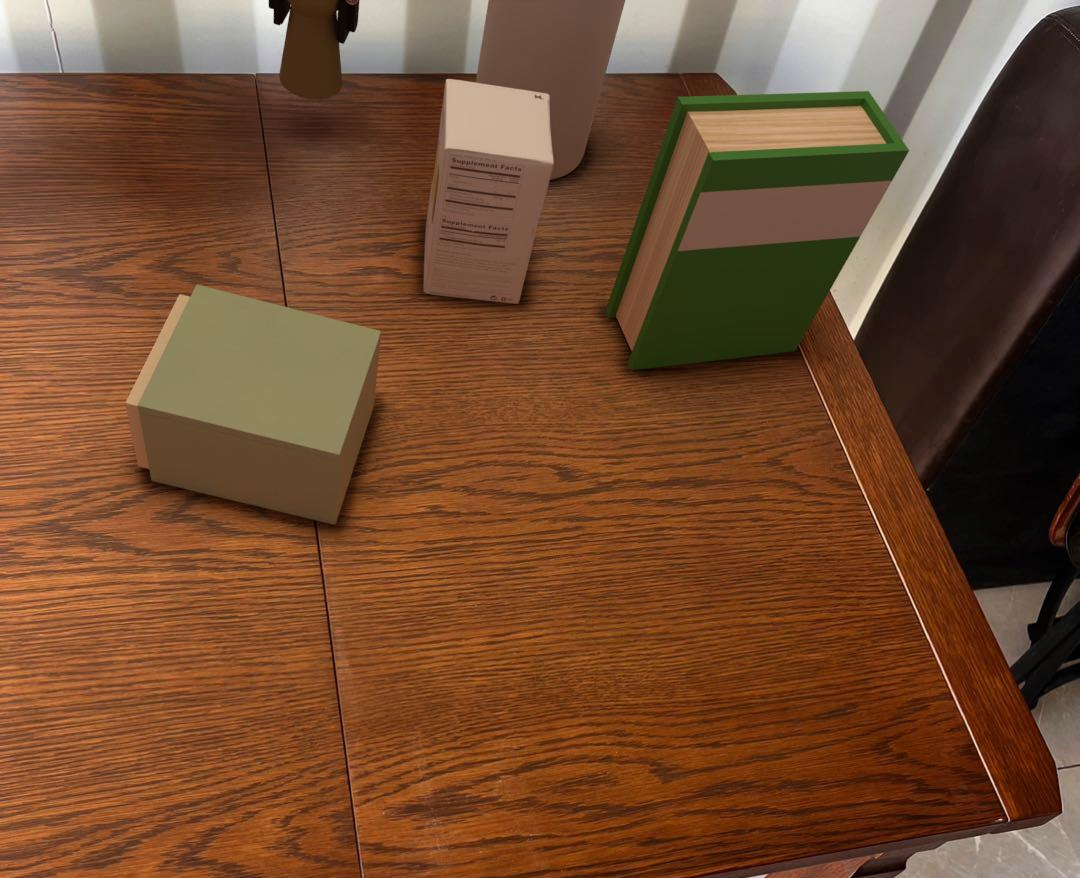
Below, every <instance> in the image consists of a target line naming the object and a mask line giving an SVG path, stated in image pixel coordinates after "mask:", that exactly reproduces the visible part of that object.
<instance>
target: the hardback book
mask: <svg viewBox="0 0 1080 878" xmlns="http://www.w3.org/2000/svg"><path fill="white" fill-rule="evenodd" d="M909 152H910V149H909V148H908V146H907V145H906V143H905V142H904V141H903V139H902V138H901V136H900V134H899V133H898V131H897V130H896V128H894V126H893V124H892V122H890V120H889V119H888V117H887V115H886V114H885V112H884V111H883V110H882V108H881V107H880V105H879V104H878V103H877V100H876V99H875V97H873V95H872V94H871V92H870V91H869V90H859V91H828V92H827V91H826V92H825V91H824V92H823V91H822V92H793V93H761V94H760V93H759V94H758V93H757V94H729V95H726V94H725V95H723V94H722V95H696V96H695V95H693V96H692V95H691V96H689V95H688V96H677V98H676V102H675V105H674V108H673V110H672V113H671V116H670V119H669V122H668V125H667V128H666V130H665V134H664V137H663V140H662V143H661V146H660V148H659V152H658V155H657V157H656V160H655V163H654V167H653V170H652V172H651V175H650V178H649V181H648V184H647V187H646V190H645V193H644V196H643V199H642V202H641V204H640V207H639V210H638V213H637V216H636V220H635V222H634V225H633V228H632V231H631V234H630V237H629V240H628V243H627V246H626V249H625V252H624V255H623V257H622V260H621V264H620V266H619V269H618V272H617V276H616V279H615V282H614V284H613V287H612V290H611V292H610V297H609V298H608V302H607V304H606V308H605V315H606V317H607V319H608V320H609V319H616V320H617V322H618V324H619V327H620V328H621V331H622V333H623V335H624V337H625V340H626V342H627V344H628V346H629V348H630V351H631V353H630V356H629V358H628V361H627V364H628V367H629V369H630V371H636V370H637V371H638V370H645V369H656V368H664V367H670V366H671V367H672V366H681V365H690V364H696V363H697V364H698V363H706V362H707V363H708V362H715V361H722V360H723V361H724V360H732V359H741V358H748V357H756V356H766V355H774V354H783V353H792V352H796V351H797V349H798V347H799V346H800V344H801V342H802V340H803V338H804V337H805V335H806V333H807V331H808V330H809V328H810V326H811V324H812V323H813V321H814V319H815V317H816V316H817V314H818V312H819V310H820V309H821V307H822V305H823V303H824V302H825V300H826V298H827V296H828V294H829V292H830V291H831V289H832V287H834V284H835V283H836V281H837V279H838V277H839V275H840V273H841V271H842V270H843V268H844V266H845V265H846V263H847V261H848V259H849V257H850V256H851V254H852V253H853V251H854V249H855V247H856V245H857V243H858V242H859V240H860V238H861V236H862V235H863V234H864V231H865V230H866V228H867V226H868V224H869V223H870V220H871V219H872V217H873V216H874V214H875V212H876V210H877V208H878V206H879V205H880V203H881V201H882V199H883V198H884V196H885V194H886V193H887V191H888V189H889V187H890V186H891V184H892V182H893V180H894V178H895V177H896V175H897V173H898V171H899V169H900V168H901V166H902V164H903V162H904V161H905V160H906V157H907V155H908V154H909Z"/></svg>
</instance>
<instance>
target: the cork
mask: <svg viewBox="0 0 1080 878" xmlns="http://www.w3.org/2000/svg"><path fill="white" fill-rule="evenodd" d="M288 1H289V3H290V4H291V6H290V11H289V13H288V20H287V25H286V31H285V36H284V43H283V49H282V55H281V62H280V68H279V73H278V77H279V82H280V84H281V86H282V87H283V88H284V89H285V90H286V91H288V93H290V94H292V95H294V96H296V97H299V98H302V99H307V100H315V101H316V100H317V101H320V100H326V99H330V98H333V97H335V96H336V95H338V93H340V91H342V87H343V74H342V61H341V50H340V49H341V48H340V43H339V42H338V41H337V40H336V35H337V18H338V4H339V1H340V0H288Z"/></svg>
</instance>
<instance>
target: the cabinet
mask: <svg viewBox="0 0 1080 878" xmlns="http://www.w3.org/2000/svg"><path fill="white" fill-rule="evenodd" d="M189 297H190V299H189V301H188V303H187V305H186V307H185V309H184V311H183V313H182V315H181V317H180V319H179V321H178V323H177V325H176V327H175V329H174V331H173V334H172V336H171V338H170V340H169V342H168V344H167V346H166V348H165V350H164V352H163V354H162V356H161V358H160V360H159V362H158V364H157V366H156V368H155V370H154V372H153V375H152V377H151V379H150V381H149V383H148V385H147V387H146V389H145V391H144V393H143V395H142V397H141V399H140V401H139V403H138V410H139V416H140V421H141V427H142V432H143V438H144V443H145V448H146V454H147V459H148V465H149V469H148V471H149V476H150V480H151V482H155V483H159V484H163V485H167V486H172V487H176V488H179V489H184V490H188V491H191V492H192V491H193V492H197V493H200V494H205V495H209V496H212V497H213V496H214V497H218V498H222V499H225V500H228V501H229V500H230V501H234V502H239V503H243V504H246V505H251V506H254V507H259V508H262V509H268V510H271V511H275V512H279V513H280V512H281V513H284V514H288V515H292V516H296V517H299V518H300V517H301V518H305V519H309V520H313V521H317V522H321V523H326V524H330V525H336V524H337V521H338V518H339V516H340V512H341V509H342V506H343V503H344V500H345V497H346V493H347V490H348V488H349V484H350V481H351V478H352V475H353V472H354V468H355V465H356V463H357V459H358V456H359V453H360V450H361V447H362V444H363V441H364V438H365V434H366V431H367V428H368V427H369V426H368V425H369V422H370V419H371V416H372V413H373V411H374V407H375V398H376V388H377V379H378V367H379V359H380V358H379V357H380V347H381V337H382V331H381V330H378V329H375V328H370V327H367V326H363V325H359V324H355V323H351V322H347V321H343V320H340V319H335V318H333V317H332V318H331V317H329V316H328V317H327V316H323V315H320V314H316V313H311V312H307V311H304V310H300V309H296V308H292V307H288V306H284V305H280V304H276V303H273V302H268V301H265V300H260V299H256V298H253V297H248V296H244V295H241V294H238V293H237V294H236V293H233V292H229V291H225V290H222V289H217V288H214V287H211V286H205V285H201V284H198V283H197V284H196V285H195V286H194V288H193V290H192V293H191V295H190V296H189Z"/></svg>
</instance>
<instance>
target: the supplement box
mask: <svg viewBox="0 0 1080 878" xmlns="http://www.w3.org/2000/svg"><path fill="white" fill-rule="evenodd" d="M442 98H443V99H442V104H441V112H440V118H439V119H440V120H439V127H438V133H437V141H436V148H435V157H434V163H433V172H432V179H431V186H430V192H429V199H428V207H427V214H426V222H425V223H426V224H425V233H424V234H425V237H424V254H423V255H424V256H423V293H424V294H428V295H431V296H432V295H433V296H440V297H441V296H442V297H451V298H458V299H459V298H460V299H467V300H476V301H477V300H478V301H486V302H487V301H488V302H495V303H503V304H505V303H506V304H513V305H514V304H516V305H519V304H520V300H521V296H522V292H523V288H524V284H525V280H526V276H527V272H528V268H529V263H530V259H531V255H532V251H533V248H534V244H535V243H534V242H535V238H536V237H535V236H536V231H537V228H538V226H539V221H540V217H541V215H542V211H543V207H544V203H545V200H546V196H547V192H548V188H549V185H550V181H551V180H550V177H551V173H552V169H553V165H554V161H553V152H552V142H551V131H550V111H549V99H550V96H549V94H546V93H540V92H534V91H528V90H521V89H514V88H507V87H501V86H494V85H487V84H481V83H476V81H475V82H473V81H469V80H463V79H453V78H446V79H445V84H444V90H443V97H442Z"/></svg>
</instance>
